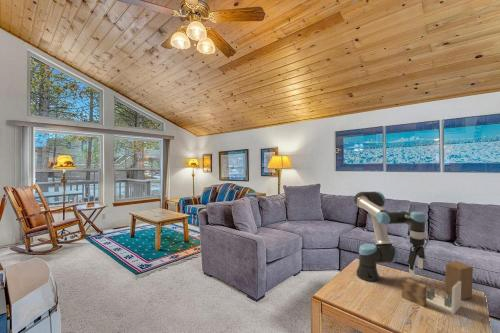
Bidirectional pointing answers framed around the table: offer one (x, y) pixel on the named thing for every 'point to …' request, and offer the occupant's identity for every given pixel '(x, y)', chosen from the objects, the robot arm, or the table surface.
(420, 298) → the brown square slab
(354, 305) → the table surface
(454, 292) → the l-bracket with handles
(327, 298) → the table surface
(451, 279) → the wooden block
